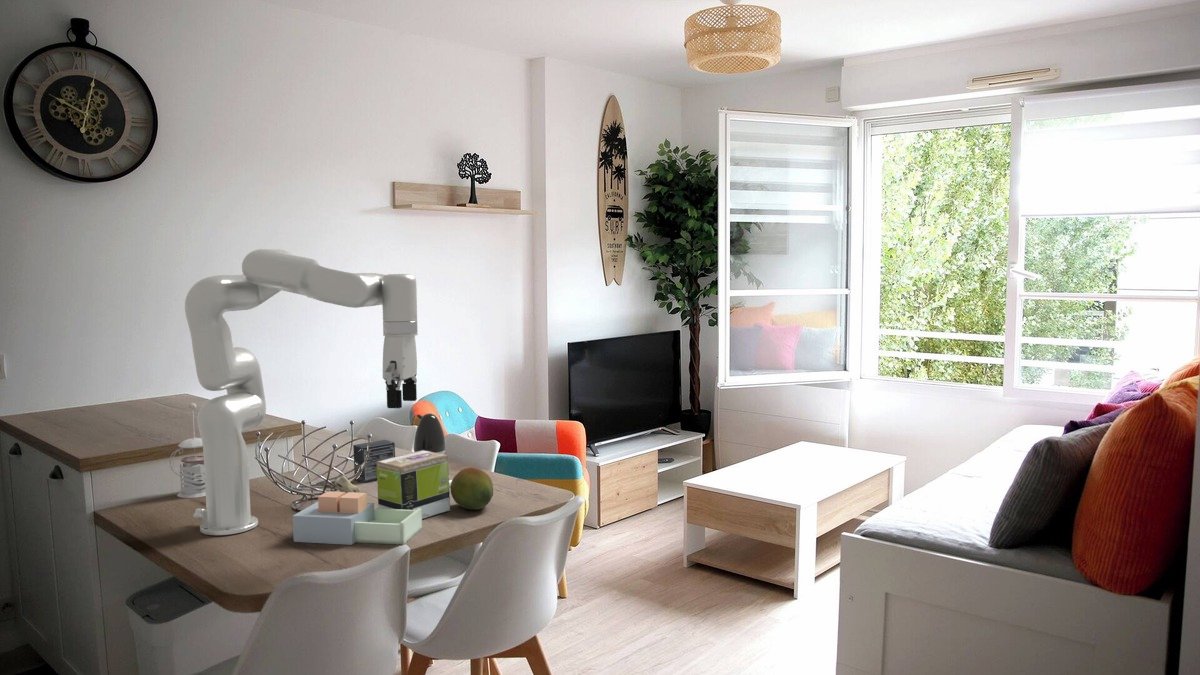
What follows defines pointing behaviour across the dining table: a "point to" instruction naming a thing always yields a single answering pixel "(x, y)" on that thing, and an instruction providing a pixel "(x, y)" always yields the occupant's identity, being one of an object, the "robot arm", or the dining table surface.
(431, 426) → the black rounded cone
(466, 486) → the fruit
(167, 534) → the dining table surface
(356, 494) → the peach orange cube
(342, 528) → the light blue drawer case
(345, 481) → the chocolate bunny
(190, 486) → the french press
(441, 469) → the tea box
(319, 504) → the orange wooden cube
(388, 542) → the bin
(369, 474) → the small box
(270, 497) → the dining table surface
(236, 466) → the robot arm
